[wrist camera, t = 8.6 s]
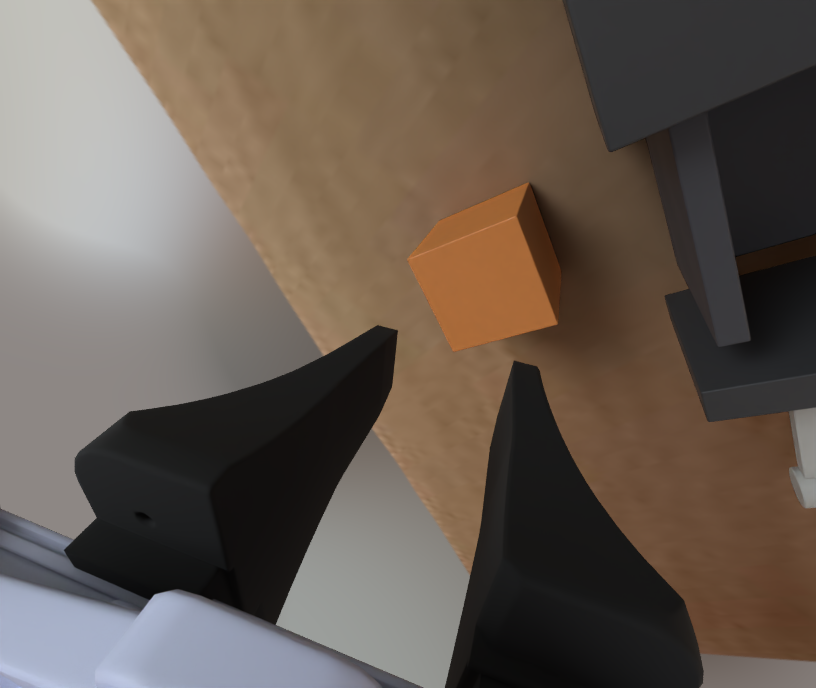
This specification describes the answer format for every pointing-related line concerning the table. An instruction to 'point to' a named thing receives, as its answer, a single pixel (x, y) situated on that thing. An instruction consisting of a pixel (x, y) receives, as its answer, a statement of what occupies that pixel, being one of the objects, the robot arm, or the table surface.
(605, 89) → the charcoal grey pedestal
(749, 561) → the table surface
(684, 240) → the dark grey drawer
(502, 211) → the block
